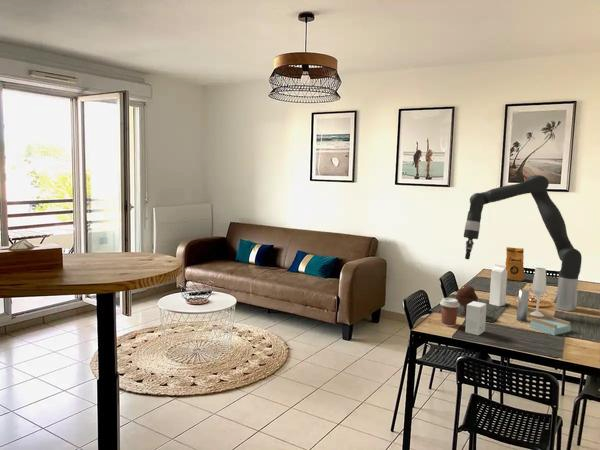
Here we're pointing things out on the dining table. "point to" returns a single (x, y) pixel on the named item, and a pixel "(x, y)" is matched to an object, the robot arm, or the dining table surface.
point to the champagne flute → (539, 287)
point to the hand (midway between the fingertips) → (467, 259)
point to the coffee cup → (449, 311)
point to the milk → (498, 285)
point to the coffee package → (515, 264)
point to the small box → (475, 318)
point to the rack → (551, 325)
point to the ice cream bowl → (466, 297)
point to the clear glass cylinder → (522, 305)
